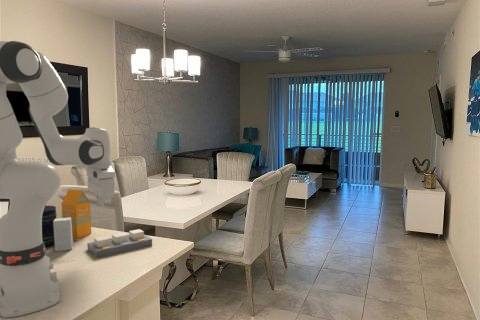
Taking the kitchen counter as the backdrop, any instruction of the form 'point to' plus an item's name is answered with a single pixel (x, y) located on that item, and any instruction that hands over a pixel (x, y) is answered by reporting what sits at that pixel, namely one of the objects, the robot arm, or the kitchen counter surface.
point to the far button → (136, 234)
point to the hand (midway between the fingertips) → (101, 206)
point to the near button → (101, 241)
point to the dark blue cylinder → (48, 226)
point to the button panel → (119, 246)
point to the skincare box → (63, 234)
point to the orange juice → (77, 212)
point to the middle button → (119, 238)
